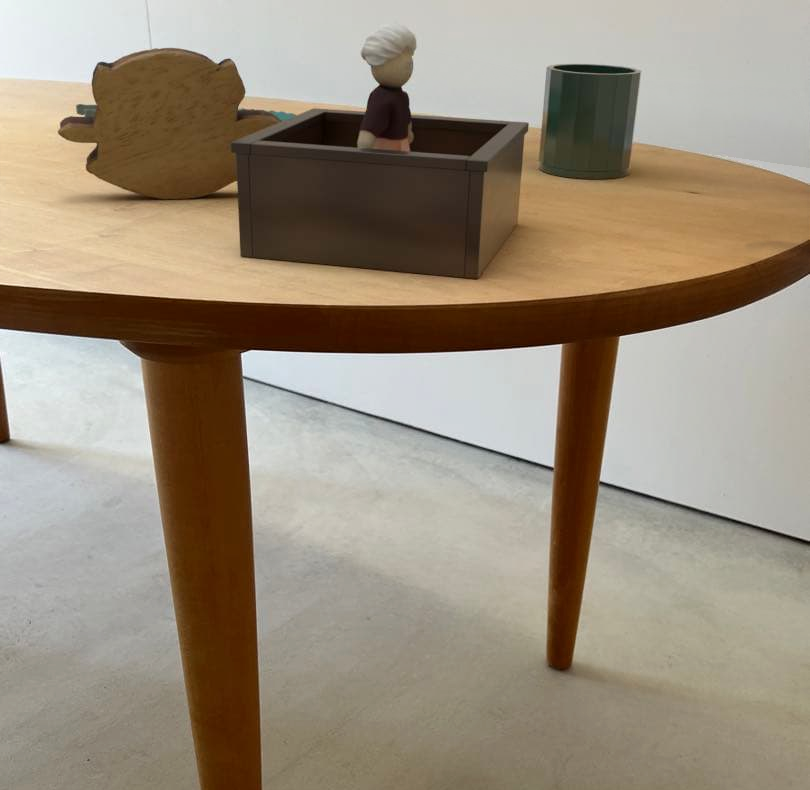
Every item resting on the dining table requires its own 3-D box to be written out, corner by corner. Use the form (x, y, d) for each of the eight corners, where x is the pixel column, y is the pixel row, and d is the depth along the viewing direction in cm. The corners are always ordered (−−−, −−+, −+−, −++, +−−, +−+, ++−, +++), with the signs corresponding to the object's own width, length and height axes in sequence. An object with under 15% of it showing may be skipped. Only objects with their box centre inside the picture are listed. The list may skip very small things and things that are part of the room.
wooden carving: (284, 185, 85) (280, 44, 81) (299, 198, 82) (296, 50, 77) (63, 194, 81) (45, 44, 76) (67, 208, 77) (49, 51, 72)
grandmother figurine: (406, 255, 68) (413, 29, 62) (345, 251, 69) (346, 26, 62) (427, 227, 75) (434, 20, 69) (371, 223, 75) (374, 17, 69)
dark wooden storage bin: (521, 223, 76) (528, 122, 73) (480, 280, 64) (487, 161, 61) (314, 205, 80) (312, 108, 76) (235, 256, 67) (230, 142, 64)
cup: (631, 165, 97) (644, 66, 93) (625, 182, 90) (637, 76, 87) (545, 159, 98) (553, 61, 95) (532, 175, 92) (541, 70, 88)
